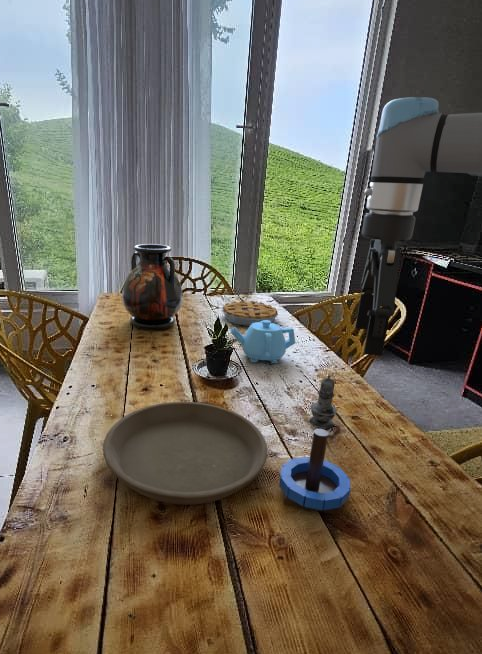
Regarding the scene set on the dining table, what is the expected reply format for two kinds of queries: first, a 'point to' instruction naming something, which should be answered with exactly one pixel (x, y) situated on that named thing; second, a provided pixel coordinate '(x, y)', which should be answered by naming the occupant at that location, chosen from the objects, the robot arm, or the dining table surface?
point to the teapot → (265, 341)
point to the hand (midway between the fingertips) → (367, 340)
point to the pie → (249, 312)
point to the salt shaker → (324, 405)
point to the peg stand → (315, 472)
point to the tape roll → (309, 497)
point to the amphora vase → (152, 288)
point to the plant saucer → (185, 452)
